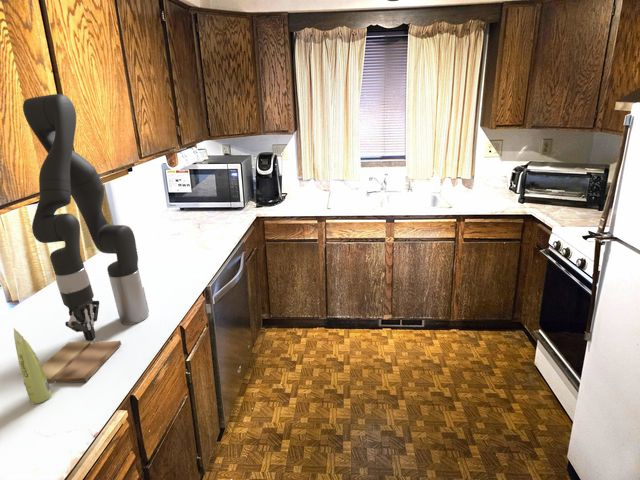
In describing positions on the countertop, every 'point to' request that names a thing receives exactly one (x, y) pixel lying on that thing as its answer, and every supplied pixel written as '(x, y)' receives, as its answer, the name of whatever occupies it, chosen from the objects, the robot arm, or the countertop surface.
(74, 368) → the plank
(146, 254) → the countertop surface
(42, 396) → the tube
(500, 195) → the countertop surface
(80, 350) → the oak board
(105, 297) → the countertop surface
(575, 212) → the countertop surface
